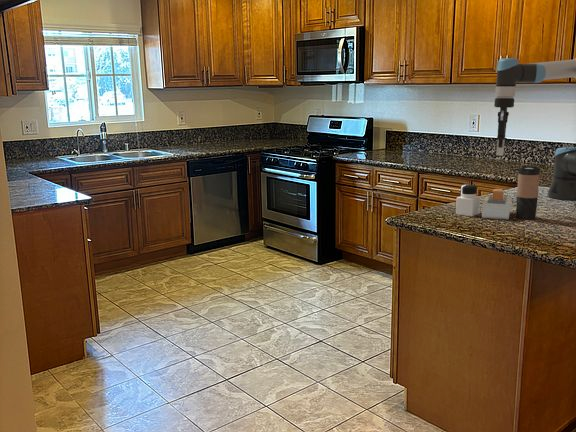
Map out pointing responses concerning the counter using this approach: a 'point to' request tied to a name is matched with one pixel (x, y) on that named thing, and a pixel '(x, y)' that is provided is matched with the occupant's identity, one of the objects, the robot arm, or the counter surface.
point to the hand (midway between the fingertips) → (499, 155)
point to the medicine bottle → (468, 201)
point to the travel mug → (527, 192)
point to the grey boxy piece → (496, 208)
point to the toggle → (498, 194)
